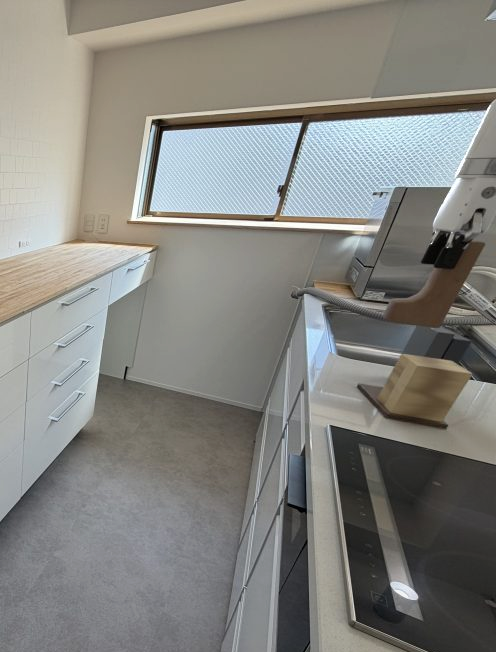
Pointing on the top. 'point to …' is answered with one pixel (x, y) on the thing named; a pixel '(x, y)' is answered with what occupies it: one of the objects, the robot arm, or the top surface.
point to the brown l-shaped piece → (435, 293)
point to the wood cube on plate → (419, 390)
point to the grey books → (437, 344)
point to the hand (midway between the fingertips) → (436, 265)
